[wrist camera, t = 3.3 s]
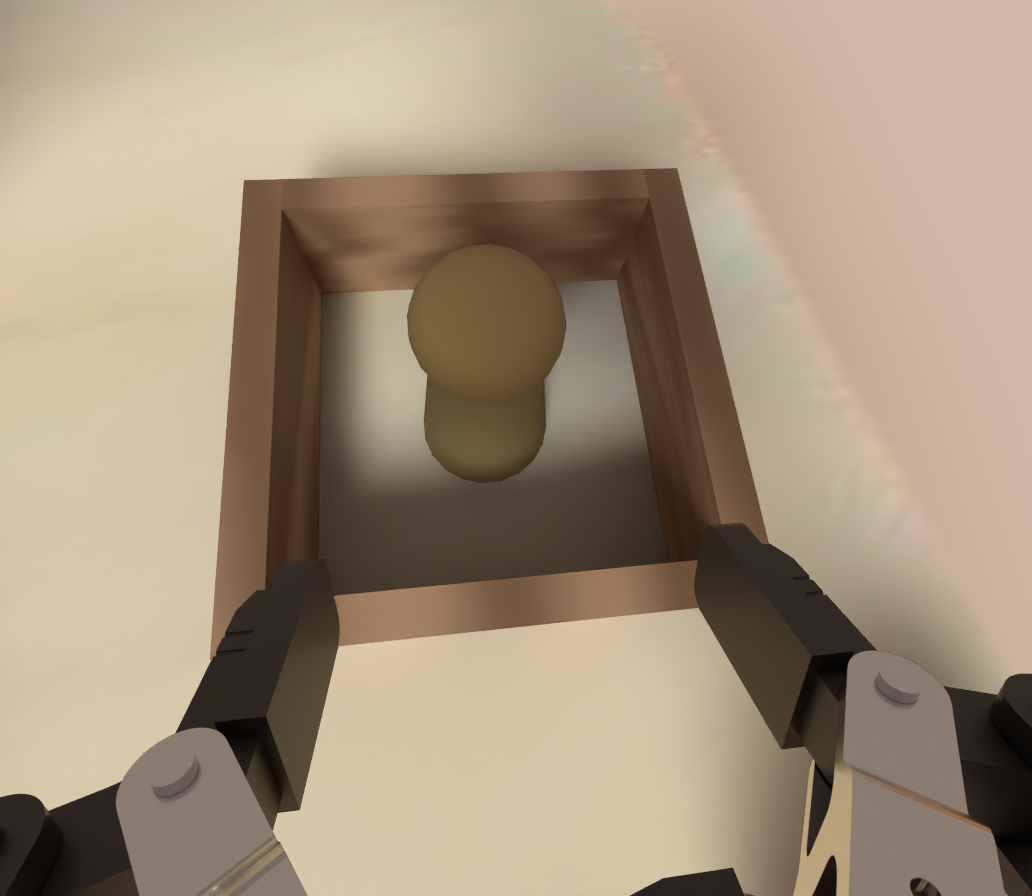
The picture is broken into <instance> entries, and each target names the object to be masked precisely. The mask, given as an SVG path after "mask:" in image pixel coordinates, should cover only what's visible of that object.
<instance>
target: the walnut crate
mask: <svg viewBox="0 0 1032 896" xmlns="http://www.w3.org/2000/svg"><path fill="white" fill-rule="evenodd" d="M486 244H493V245H498V246H503V247H508V248H512V249H514V250H516V251H518V252H520V253H522V254H524V255H526V256H528V257H530V258H531V259H532V260H534V261H535V262H536V263H537V264H538V265H539V266H540V267H541V268H542V269H543V270H544V271H545V272H546V273H547V274H548V275H549V276H550V277H551V278H552V280H553V282H569V281H590V280H611V279H617V283H618V288H619V294H620V299H621V304H622V310H623V315H624V320H625V326H626V331H627V337H628V342H629V347H630V353H631V358H632V364H633V369H634V374H635V380H636V385H637V391H638V396H639V401H640V407H641V412H642V418H643V423H644V428H645V434H646V439H647V444H648V450H649V455H650V461H651V466H652V471H653V477H654V482H655V488H656V493H657V498H658V504H659V509H660V515H661V520H662V525H663V531H664V536H665V542H666V547H667V552H668V558H669V563H662V564H652V565H642V566H631V567H621V568H611V569H601V570H591V571H581V572H570V573H560V574H550V575H540V576H530V577H520V578H509V579H499V580H489V581H479V582H469V583H458V584H448V585H438V586H428V587H418V588H408V589H397V590H387V591H377V592H367V593H357V594H347V595H336V596H334V598H335V602H336V606H337V611H338V615H339V624H340V635H339V645H338V646H344V645H354V644H363V643H373V642H382V641H391V640H401V639H410V638H419V637H429V636H438V635H447V634H457V633H466V632H475V631H485V630H494V629H504V628H513V627H522V626H532V625H541V624H550V623H560V622H569V621H578V620H588V619H597V618H606V617H616V616H625V615H635V614H644V613H653V612H663V611H672V610H681V609H691V608H699V606H698V604H697V601H696V597H695V591H694V579H695V573H696V567H697V561H698V555H699V549H700V543H701V537H702V532H703V529H704V528H705V527H706V526H708V525H718V524H729V523H743V524H745V525H746V526H747V527H748V528H749V529H750V530H751V531H752V533H753V534H754V535H755V536H756V537H757V538H758V540H759V541H760V542H761V543H762V544H769V543H768V539H767V535H766V531H765V526H764V522H763V518H762V514H761V510H760V506H759V502H758V498H757V494H756V490H755V486H754V481H753V477H752V473H751V469H750V465H749V461H748V457H747V453H746V449H745V445H744V441H743V436H742V432H741V428H740V424H739V420H738V416H737V412H736V408H735V404H734V400H733V396H732V391H731V387H730V383H729V379H728V375H727V371H726V367H725V363H724V359H723V355H722V351H721V346H720V342H719V338H718V334H717V330H716V326H715V322H714V318H713V314H712V310H711V306H710V301H709V297H708V293H707V289H706V285H705V281H704V277H703V273H702V269H701V265H700V261H699V256H698V252H697V248H696V244H695V240H694V236H693V232H692V228H691V224H690V220H689V216H688V211H687V207H686V203H685V199H684V195H683V191H682V187H681V183H680V179H679V175H678V171H677V168H671V169H635V170H600V171H564V172H528V173H492V174H456V175H420V176H384V177H349V178H313V179H277V180H244V188H243V202H242V216H241V230H240V244H239V258H238V272H237V287H236V301H235V315H234V329H233V343H232V357H231V371H230V385H229V399H228V413H227V427H226V441H225V455H224V469H223V484H222V498H221V512H220V526H219V540H218V554H217V568H216V582H215V596H214V610H213V624H212V638H211V652H210V660H212V658H213V656H216V650H217V648H218V646H219V644H220V642H221V640H222V638H223V637H225V632H226V630H227V628H228V626H229V624H230V621H231V619H232V617H233V615H234V613H235V611H236V610H237V609H238V608H239V607H240V606H241V605H242V604H243V603H244V602H245V601H246V600H247V599H248V598H249V597H250V596H251V595H252V594H253V593H254V592H255V591H256V590H267V589H271V588H272V586H273V584H274V581H275V579H276V577H277V574H278V572H279V570H280V567H281V565H282V564H283V563H284V562H291V561H302V560H313V559H318V526H319V454H320V381H321V308H322V293H336V292H357V291H378V290H399V289H414V288H415V286H416V284H417V283H418V282H419V280H420V279H421V277H422V276H423V275H424V273H425V272H426V271H427V269H428V268H429V267H431V266H432V265H433V264H434V263H436V262H437V261H438V260H440V259H441V258H443V257H444V256H445V255H447V254H448V253H450V252H452V251H455V250H458V249H461V248H464V247H467V246H470V245H486Z"/></svg>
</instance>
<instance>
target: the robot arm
mask: <svg viewBox="0 0 1032 896" xmlns="http://www.w3.org/2000/svg"><path fill="white" fill-rule="evenodd" d="M694 591H695V597H696V601H697V604H698V606H699V609H700V611H701V613H702V614H703V616H704V618H705V619H706V621H707V623H708V624H709V626H710V628H711V630H712V631H713V633H714V635H715V636H716V638H717V640H718V642H719V643H720V645H721V647H722V648H723V650H724V652H725V654H726V655H727V657H728V659H729V660H730V662H731V664H732V666H733V667H734V669H735V671H736V672H737V674H738V676H739V678H740V679H741V681H742V683H743V684H744V686H745V688H746V690H747V691H748V693H749V695H750V696H751V698H752V700H753V702H754V703H755V705H756V707H757V708H758V710H759V712H760V713H761V715H762V717H763V719H764V720H765V722H766V724H767V725H768V727H769V729H770V731H771V732H772V734H773V736H774V737H775V739H776V741H777V743H778V744H779V746H780V748H781V749H788V748H796V747H804V746H806V748H807V750H808V751H809V753H810V754H811V756H812V758H813V760H812V763H811V765H810V770H809V778H808V787H807V797H806V806H805V816H804V826H803V835H802V845H801V854H800V863H799V870H798V876H797V881H796V885H795V889H794V893H793V896H1005V892H1006V893H1007V895H1008V896H1032V674H1016V675H1013V676H1011V677H1009V678H1008V679H1007V680H1006V681H1005V683H1004V684H1003V686H1002V688H1001V690H1000V691H999V693H998V695H995V694H988V693H982V692H976V691H970V690H963V689H957V688H951V687H945V686H942V684H941V683H940V682H939V681H938V680H937V679H936V678H935V677H934V676H933V675H931V674H930V673H929V672H928V671H926V670H925V669H923V668H922V667H921V666H919V665H917V664H915V663H914V662H912V661H910V660H908V659H906V658H903V657H901V656H898V655H895V654H892V653H888V652H882V651H877V650H876V649H875V648H874V647H873V646H872V645H871V643H870V642H869V641H868V640H867V639H866V638H865V637H864V636H863V635H862V634H861V632H860V631H859V630H858V629H857V628H856V627H855V626H854V625H853V624H852V623H851V621H850V620H849V619H848V618H847V617H846V616H845V615H844V614H843V613H842V612H841V610H840V609H839V608H838V607H837V606H836V605H835V604H834V603H833V602H832V601H831V599H830V598H829V597H828V596H827V595H823V591H822V590H821V588H820V587H819V586H818V585H817V584H816V583H815V582H814V581H813V580H810V579H809V575H808V574H807V573H806V572H805V571H804V570H803V569H802V568H801V566H800V565H799V564H798V563H797V562H796V561H795V560H794V559H793V558H792V557H790V556H789V555H787V554H786V553H784V552H782V551H781V550H779V549H778V548H776V547H774V546H773V545H771V544H762V543H761V542H760V541H759V540H758V538H757V537H756V536H755V535H754V534H753V533H752V531H751V530H750V529H749V528H748V527H747V526H746V525H745V524H743V523H729V524H718V525H708V526H706V527H705V528H704V529H703V532H702V537H701V543H700V549H699V555H698V561H697V567H696V573H695V579H694ZM339 635H340V624H339V615H338V611H337V606H336V602H335V598H334V594H333V589H332V585H331V581H330V577H329V572H328V568H327V565H326V562H325V560H324V559H313V560H302V561H291V562H284V563H283V564H282V565H281V567H280V570H279V572H278V574H277V577H276V579H275V581H274V584H273V586H272V588H271V589H267V590H256V591H255V592H254V593H253V594H252V595H251V596H250V597H249V598H248V599H247V600H246V601H245V602H244V603H243V604H242V605H241V606H240V607H239V608H238V609H237V610H236V611H235V613H234V615H233V617H232V619H231V621H230V624H229V626H228V628H227V630H226V632H225V637H223V638H222V640H221V642H220V644H219V646H218V648H217V650H216V656H213V658H212V660H211V662H210V664H209V666H208V668H207V670H206V672H205V674H204V676H203V678H202V681H201V683H200V685H199V687H198V689H197V691H196V693H195V695H194V697H193V699H192V701H191V703H190V705H189V707H188V709H187V711H186V713H185V715H184V717H183V719H182V721H181V723H180V725H179V727H178V729H177V731H176V733H175V734H173V735H171V736H169V737H167V738H165V739H163V740H162V741H160V742H158V743H157V744H155V745H154V746H153V747H151V748H150V749H149V750H147V751H146V752H145V753H144V754H143V755H142V756H141V757H140V758H139V759H138V760H137V761H136V762H135V763H134V764H133V765H132V767H131V768H130V769H129V770H128V772H127V773H126V775H125V776H124V778H123V780H122V781H121V782H119V783H117V784H115V785H112V786H110V787H108V788H105V789H103V790H100V791H98V792H95V793H93V794H90V795H88V796H85V797H83V798H80V799H77V800H75V801H72V802H70V803H67V804H65V805H62V806H60V807H57V808H55V809H52V810H50V811H48V810H47V809H46V807H45V806H44V805H43V803H42V802H41V801H40V800H39V799H38V798H36V797H35V796H32V795H29V794H13V795H8V796H4V797H0V896H307V894H306V892H305V890H304V888H303V886H302V884H301V882H300V880H299V878H298V876H297V874H296V872H295V870H294V868H293V866H292V864H291V862H290V860H289V858H288V856H287V854H286V852H285V851H284V849H283V847H282V845H281V843H280V842H278V841H277V839H276V837H275V835H274V833H273V828H274V824H275V820H276V817H277V813H280V812H288V811H296V810H300V807H301V803H302V798H303V794H304V790H305V786H306V781H307V777H308V773H309V769H310V764H311V760H312V756H313V752H314V747H315V743H316V739H317V735H318V730H319V726H320V722H321V718H322V713H323V709H324V705H325V700H326V696H327V692H328V688H329V683H330V679H331V675H332V671H333V666H334V662H335V658H336V654H337V649H338V645H339ZM1004 891H1005V892H1004ZM630 896H754V895H751V894H745V893H743V891H742V889H741V886H740V884H739V881H738V879H737V877H736V874H735V872H734V869H733V868H728V869H722V870H715V871H708V872H702V873H695V874H688V875H682V876H675V877H668V878H663V879H661V880H659V881H657V882H655V883H653V884H651V885H649V886H648V887H646V888H644V889H642V890H640V891H638V892H636V893H634V894H632V895H630Z"/></svg>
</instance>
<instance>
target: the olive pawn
mask: <svg viewBox="0 0 1032 896" xmlns="http://www.w3.org/2000/svg"><path fill="white" fill-rule="evenodd" d="M407 321H408V335H409V341H410V344H411V347H412V350H413V352H414V354H415V356H416V358H417V360H418V363H419V365H420V367H421V368H422V369H423V370H424V371H425V372H426V373H427V374H428V376H427V388H426V401H425V414H424V428H425V439H426V441H427V443H428V446H429V448H430V450H431V452H432V455H433V456H434V457H435V458H436V459H437V461H438V462H439V463H440V464H441V465H442V466H443V467H444V468H445V469H446V470H448V471H450V472H451V473H453V474H455V475H457V476H459V477H460V478H462V479H466V480H471V481H476V482H481V483H484V482H493V481H502V480H504V479H506V478H509V477H511V476H513V475H516V474H518V473H520V472H521V471H522V470H523V469H524V468H525V467H526V466H528V465H529V464H530V463H531V462H532V461H533V460H534V458H535V457H536V455H537V453H538V451H539V449H540V448H541V446H542V444H543V438H544V433H545V427H546V424H545V396H544V378H545V377H546V376H547V375H548V374H549V373H550V371H551V369H552V368H553V366H554V364H555V362H556V361H557V359H558V357H559V356H560V353H561V350H562V346H563V341H564V335H565V330H566V320H565V314H564V309H563V303H562V297H561V294H560V292H559V291H558V289H557V287H556V285H555V284H554V282H553V280H552V278H551V277H550V276H549V275H548V274H547V273H546V272H545V271H544V270H543V269H542V268H541V267H540V266H539V265H538V264H537V263H536V262H535V261H534V260H532V259H531V258H530V257H528V256H526V255H524V254H522V253H520V252H518V251H516V250H514V249H512V248H508V247H503V246H498V245H493V244H486V245H470V246H467V247H464V248H461V249H458V250H455V251H452V252H450V253H448V254H447V255H445V256H444V257H443V258H441V259H440V260H438V261H437V262H436V263H434V264H433V265H432V266H431V267H429V268H428V269H427V271H426V272H425V273H424V275H423V276H422V277H421V279H420V280H419V282H418V283H417V284H416V286H415V288H414V292H413V295H412V298H411V302H410V305H409V309H408V314H407Z"/></svg>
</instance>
